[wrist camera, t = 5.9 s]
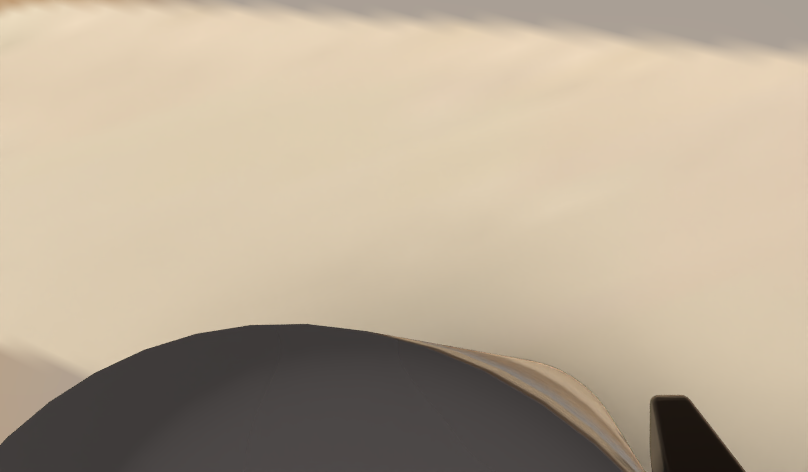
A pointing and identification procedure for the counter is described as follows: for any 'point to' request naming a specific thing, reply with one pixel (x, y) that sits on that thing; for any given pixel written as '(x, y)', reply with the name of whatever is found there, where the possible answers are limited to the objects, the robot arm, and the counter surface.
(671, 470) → the robot arm
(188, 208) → the counter surface
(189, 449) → the brushed metal canister
